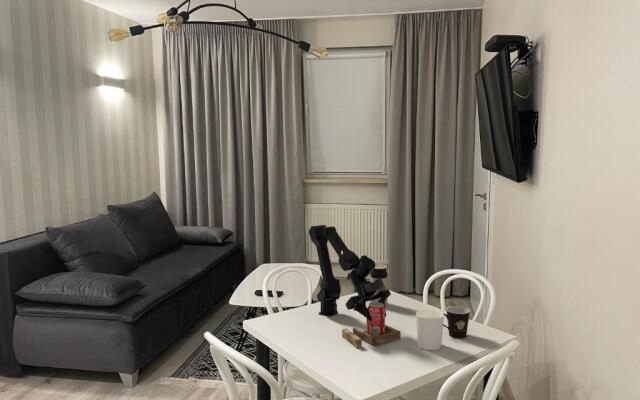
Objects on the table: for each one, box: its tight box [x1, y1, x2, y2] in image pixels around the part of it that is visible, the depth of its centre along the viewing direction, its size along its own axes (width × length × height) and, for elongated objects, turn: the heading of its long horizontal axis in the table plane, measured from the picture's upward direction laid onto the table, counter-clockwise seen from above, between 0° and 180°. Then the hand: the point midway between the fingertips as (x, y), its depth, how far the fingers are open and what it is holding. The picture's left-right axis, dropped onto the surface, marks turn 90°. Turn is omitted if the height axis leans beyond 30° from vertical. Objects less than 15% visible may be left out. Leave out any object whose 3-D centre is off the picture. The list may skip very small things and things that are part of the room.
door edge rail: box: [341, 328, 363, 349], centre depth 180 cm, size 12×2×3 cm, turn 24°
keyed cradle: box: [352, 324, 401, 347], centre depth 184 cm, size 13×13×3 cm
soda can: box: [365, 302, 386, 337], centre depth 184 cm, size 7×7×12 cm
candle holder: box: [415, 309, 445, 351], centre depth 176 cm, size 10×10×12 cm
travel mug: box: [369, 263, 389, 306], centre depth 223 cm, size 8×8×18 cm
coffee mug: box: [442, 305, 471, 339], centre depth 186 cm, size 12×9×10 cm
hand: (378, 318), depth 183 cm, fingers closed on soda can, 7 cm apart
